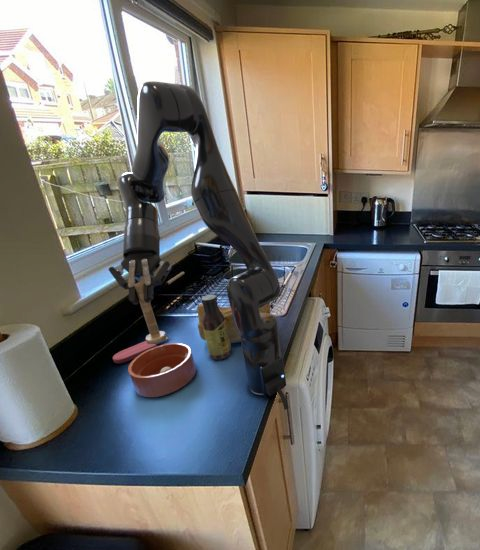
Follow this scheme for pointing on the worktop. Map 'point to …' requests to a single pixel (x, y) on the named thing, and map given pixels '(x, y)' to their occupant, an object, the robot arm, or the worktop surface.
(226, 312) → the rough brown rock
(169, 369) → the dough ball
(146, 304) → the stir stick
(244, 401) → the worktop surface
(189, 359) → the mixing bowl
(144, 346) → the popsicle
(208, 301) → the sauce bottle
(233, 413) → the worktop surface
